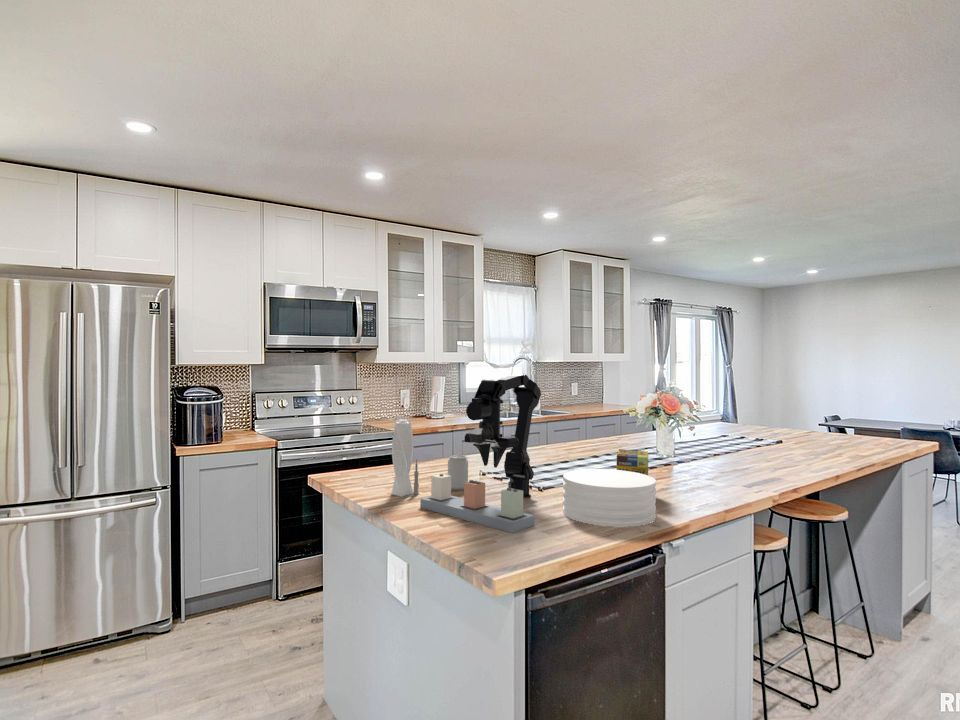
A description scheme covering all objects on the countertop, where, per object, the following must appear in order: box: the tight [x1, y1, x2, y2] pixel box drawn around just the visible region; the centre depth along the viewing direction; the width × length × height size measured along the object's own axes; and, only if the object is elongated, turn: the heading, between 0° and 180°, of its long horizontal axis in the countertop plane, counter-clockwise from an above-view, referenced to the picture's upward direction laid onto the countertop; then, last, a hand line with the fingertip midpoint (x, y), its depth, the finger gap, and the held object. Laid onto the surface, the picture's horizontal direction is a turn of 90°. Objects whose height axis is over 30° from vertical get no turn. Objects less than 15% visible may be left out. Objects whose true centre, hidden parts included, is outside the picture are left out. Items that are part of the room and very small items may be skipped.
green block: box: [500, 487, 524, 518], centre depth 155 cm, size 4×4×8 cm
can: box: [447, 454, 469, 491], centre depth 200 cm, size 8×8×12 cm
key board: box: [419, 495, 535, 534], centre depth 164 cm, size 38×10×3 cm, turn 48°
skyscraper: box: [391, 415, 420, 499], centre depth 190 cm, size 8×8×28 cm
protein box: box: [615, 448, 649, 476], centre depth 191 cm, size 10×15×16 cm
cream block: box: [430, 473, 452, 500], centre depth 174 cm, size 4×4×8 cm
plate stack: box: [562, 468, 657, 528], centre depth 169 cm, size 28×28×12 cm
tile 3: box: [463, 479, 486, 509], centre depth 164 cm, size 4×4×8 cm
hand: (490, 466), depth 175 cm, fingers open, 4 cm apart
